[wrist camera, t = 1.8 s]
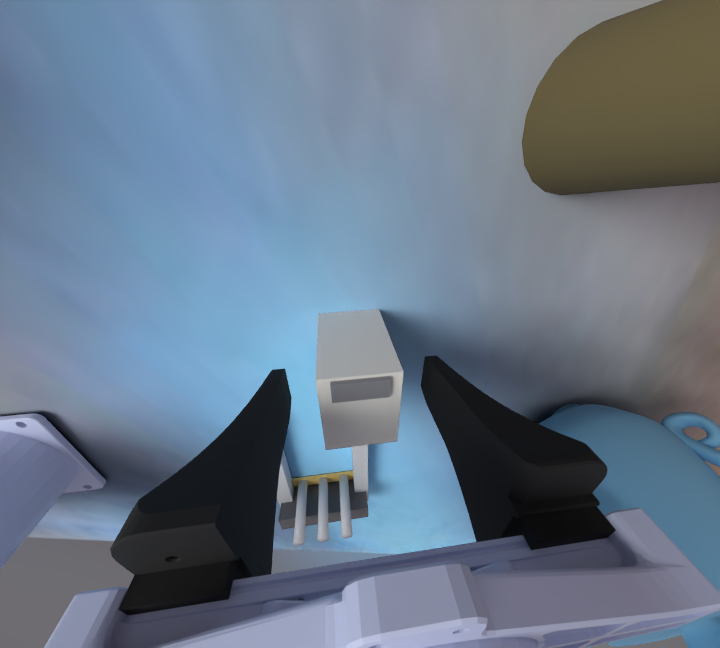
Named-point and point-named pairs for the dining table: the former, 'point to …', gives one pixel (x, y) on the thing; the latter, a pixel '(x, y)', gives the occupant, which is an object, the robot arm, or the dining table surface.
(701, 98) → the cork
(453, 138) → the dining table surface
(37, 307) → the dining table surface
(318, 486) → the socket
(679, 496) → the decorative pot
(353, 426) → the plug block
